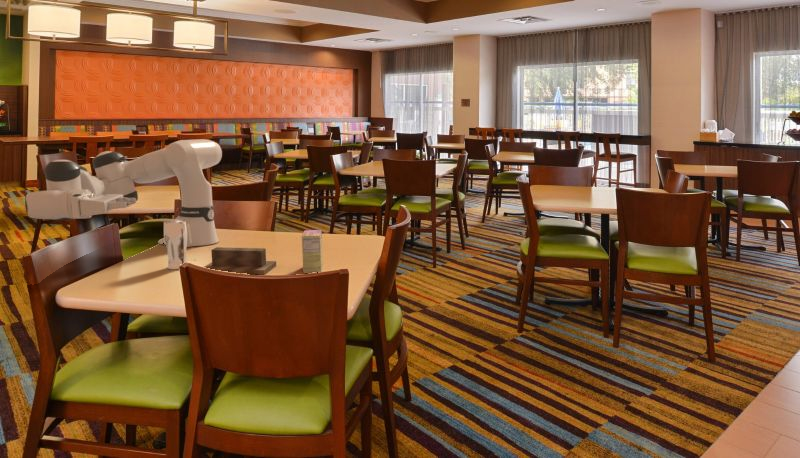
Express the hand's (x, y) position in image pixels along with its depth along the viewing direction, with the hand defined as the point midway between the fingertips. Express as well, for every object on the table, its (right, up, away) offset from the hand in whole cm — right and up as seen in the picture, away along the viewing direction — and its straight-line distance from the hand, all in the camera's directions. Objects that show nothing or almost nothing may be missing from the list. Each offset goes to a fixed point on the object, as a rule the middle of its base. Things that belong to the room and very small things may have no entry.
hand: (130, 202), depth 189 cm
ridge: (+33, -21, +4) cm, 39 cm away
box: (+56, -21, +4) cm, 60 cm away
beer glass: (+12, -21, +6) cm, 25 cm away
